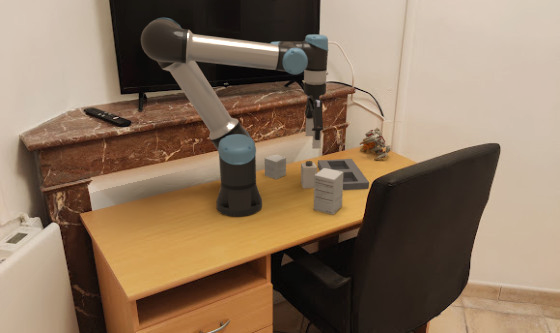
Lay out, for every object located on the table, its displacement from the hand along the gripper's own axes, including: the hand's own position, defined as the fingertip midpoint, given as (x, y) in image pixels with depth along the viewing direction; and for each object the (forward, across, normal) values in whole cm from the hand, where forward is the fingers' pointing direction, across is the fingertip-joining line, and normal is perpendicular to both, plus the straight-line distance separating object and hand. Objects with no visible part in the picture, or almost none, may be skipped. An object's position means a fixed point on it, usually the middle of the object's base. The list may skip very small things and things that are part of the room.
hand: (312, 141), depth 166 cm
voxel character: (+16, +26, -31) cm, 44 cm away
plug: (+17, 0, +1) cm, 17 cm away
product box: (+17, +11, +12) cm, 24 cm away
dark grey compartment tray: (+17, +6, -13) cm, 22 cm away
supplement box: (+17, -19, -2) cm, 26 cm away
